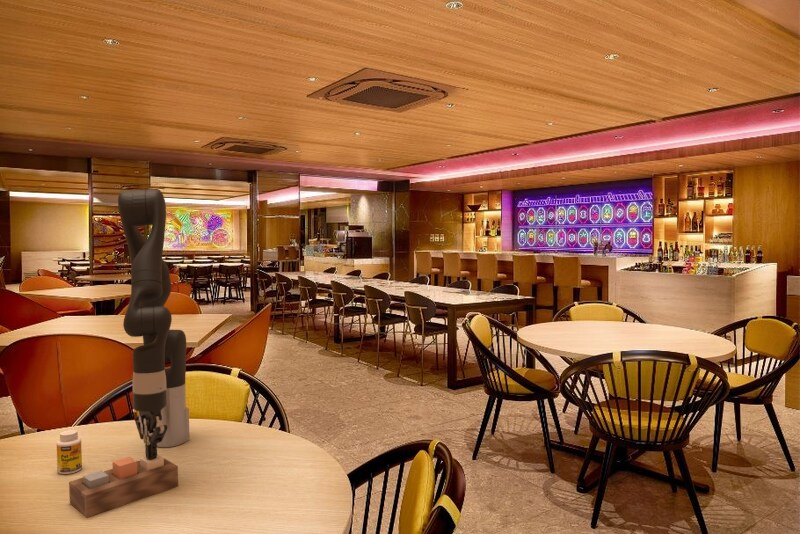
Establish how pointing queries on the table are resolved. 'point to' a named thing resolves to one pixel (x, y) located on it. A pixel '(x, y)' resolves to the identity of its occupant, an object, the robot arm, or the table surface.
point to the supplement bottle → (69, 452)
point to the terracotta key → (124, 467)
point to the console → (122, 489)
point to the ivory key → (151, 463)
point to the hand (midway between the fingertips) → (151, 458)
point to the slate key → (95, 479)
